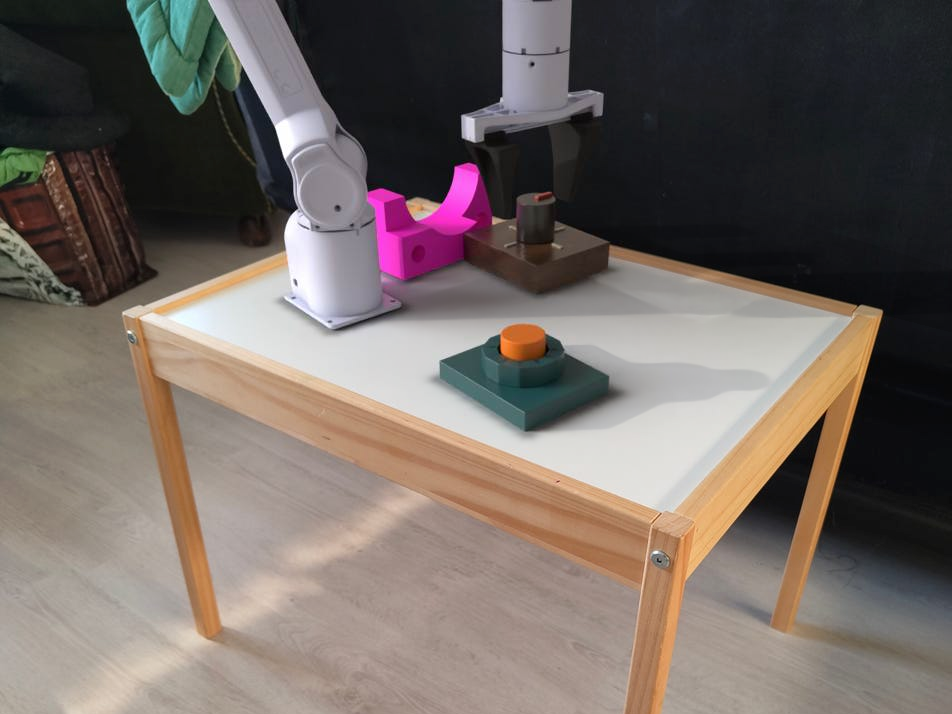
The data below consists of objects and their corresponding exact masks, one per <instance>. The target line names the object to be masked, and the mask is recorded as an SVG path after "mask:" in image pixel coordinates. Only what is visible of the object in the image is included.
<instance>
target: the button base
mask: <svg viewBox="0 0 952 714" xmlns="http://www.w3.org/2000/svg"><path fill="white" fill-rule="evenodd" d="M439 379H441V380H442V381H444V382H445V383H447V384H448V385H450V386H451V387H453V388H455V389H456V390H458V391H459V392H461V393H463V394H465V396H467V397H469V398H471V399H473V400H474V401H475V402H477V403H478V404H480V405H482V406H483V407H484V408H486V409H488V410H490V411H491V412H493V413H494V414H496V415H498V416H499V417H501V418H503V420H506V421H507V422H509V423H510V424H512V425H514V426H515V427H517V428H518V429H520V430H521V431H523V432H527V431H530V430H531V429H534V428H536V427H538V426H541V425H543V424H544V423H547V422H549V421H552V420H554V419H556V418H558V417H560V416H562V415H564V414H567V413H569V412H572V411H573V410H576V409H578V408H580V407H582V406H584V405H587V404H589V403H591V402H594V401H595V400H598V399H600V398H602V397H604V396H607V395H608V394H609V385H610V375H609V374H606V373H605V372H603V371H601V370H599V369H597V368H595V367H593V366H591V365H589V364H587V363H586V362H584V361H582V360H580V359H578V358H576V357H574V356H572V355H570V354H568V353H566V350H565V348H564V346H563V344H562V342H561V340H559V339H557V338H555V337H554V336H552V335H550V334H548V333H546V344H545V355H544V356H543V357H541V358H538V359H536V360H526V361H517V360H512V359H507V358H506V357H504V356H502V354H501V333H498V334H496V335H494V336H490V337H489V338H488V339H487V340H486V341H485V343H483V344H479V345H476V346H475V347H472V348H469V349H467V350H464V351H461V352H458V353H455V354H454V355H451V356H448V357H446V358H443V359H440V360H439Z"/></svg>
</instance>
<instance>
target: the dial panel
mask: <svg viewBox="0 0 952 714" xmlns="http://www.w3.org/2000/svg"><path fill="white" fill-rule="evenodd" d="M610 245H611V242H610V241H608V240H606V239H603V238H600V237H598V236H596V235H593V234H590V233H587V232H585V231H582V230H580V229H577V228H575V227H572V226H569V225H567V224H564V223H562V222H560V221H557V220H555V237H554V239H553V240H552V241H550V242H546V243H541V244H530V243H525V242H521V241H519V240H518V239H517V237H516V217H515V218H509V219H506V220H503V221H501V222H497V223H492V225H490V226H487V227H483V228H480V229H476V230H473V231H470V232H466V233H463V249H464V259H463V261H464V262H467V263H469V264H471V265H473V266H475V267H478V268H479V269H482V270H483V271H486V272H488V273H490V274H492V275H495V276H497V277H499V278H500V279H503V280H505V281H506V282H509V283H512V284H513V285H516V286H517V287H520V288H521V289H523V290H526V291H528V292H531V293H533V294H535V295H540V294H542V293H546V292H548V291H551V290H553V289H556V288H559V287H562V286H565V285H568V284H571V283H573V282H576V281H579V280H582V279H584V278H587V277H590V276H593V275H596V274H598V273H602V272H604V271H607V270H608V269H609V261H610Z"/></svg>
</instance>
